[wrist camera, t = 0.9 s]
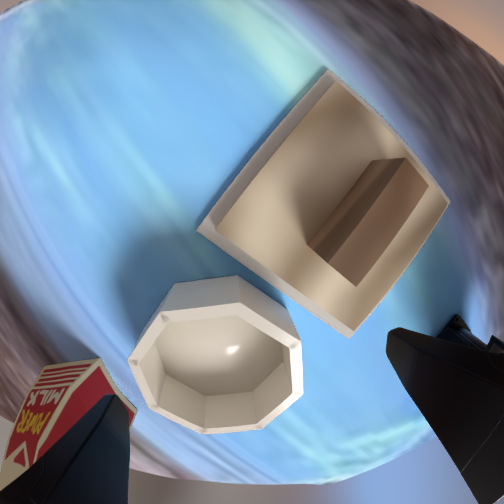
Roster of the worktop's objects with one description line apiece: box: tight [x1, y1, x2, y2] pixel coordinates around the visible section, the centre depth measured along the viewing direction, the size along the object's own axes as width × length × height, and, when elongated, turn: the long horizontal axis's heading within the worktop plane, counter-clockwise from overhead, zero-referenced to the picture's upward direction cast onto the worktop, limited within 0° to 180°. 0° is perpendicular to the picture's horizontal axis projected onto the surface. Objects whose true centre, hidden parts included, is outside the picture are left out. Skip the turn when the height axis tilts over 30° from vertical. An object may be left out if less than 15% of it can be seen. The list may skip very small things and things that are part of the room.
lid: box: [215, 81, 448, 331], centre depth 17 cm, size 14×14×6 cm
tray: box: [196, 69, 451, 339], centre depth 20 cm, size 16×16×1 cm
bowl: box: [127, 275, 303, 434], centre depth 20 cm, size 12×12×5 cm
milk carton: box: [0, 358, 138, 491], centre depth 14 cm, size 9×9×20 cm
